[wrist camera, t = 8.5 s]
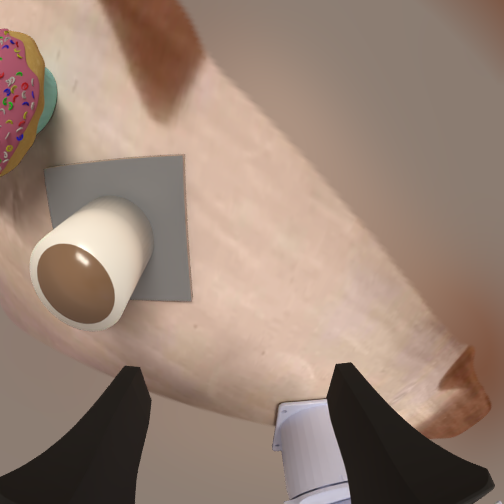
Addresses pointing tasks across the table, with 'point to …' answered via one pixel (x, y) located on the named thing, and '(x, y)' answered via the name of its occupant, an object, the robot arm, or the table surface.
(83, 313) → the cup
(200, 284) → the table surface
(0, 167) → the cupcake
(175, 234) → the coaster
